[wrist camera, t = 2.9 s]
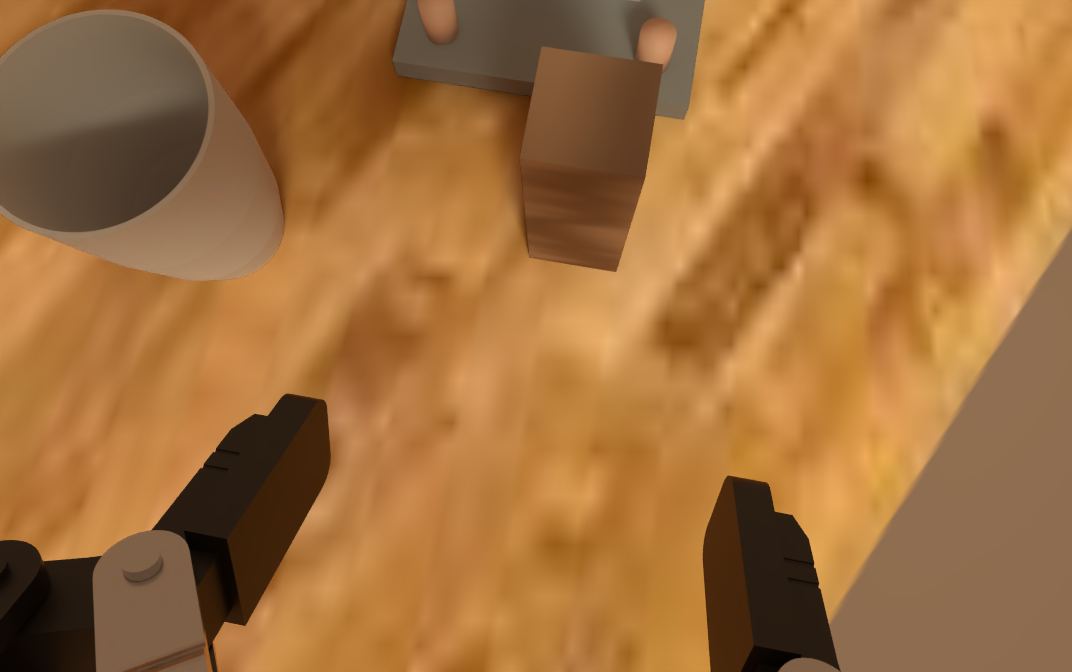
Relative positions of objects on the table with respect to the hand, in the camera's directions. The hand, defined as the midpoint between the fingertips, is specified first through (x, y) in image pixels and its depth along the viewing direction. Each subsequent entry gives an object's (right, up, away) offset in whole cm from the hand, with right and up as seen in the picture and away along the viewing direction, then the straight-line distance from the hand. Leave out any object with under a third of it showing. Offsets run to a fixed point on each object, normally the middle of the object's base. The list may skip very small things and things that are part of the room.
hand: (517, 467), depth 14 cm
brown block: (+2, +8, +18) cm, 20 cm away
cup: (-14, +8, +19) cm, 24 cm away
